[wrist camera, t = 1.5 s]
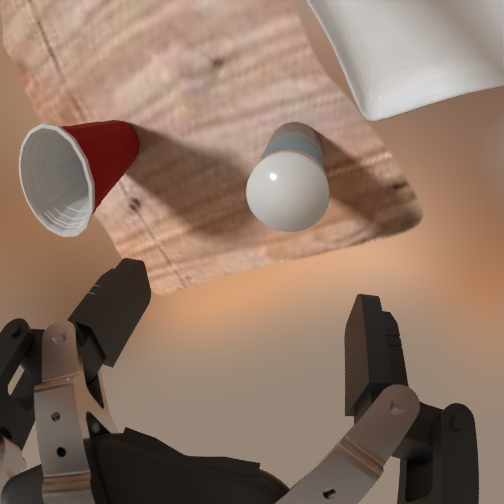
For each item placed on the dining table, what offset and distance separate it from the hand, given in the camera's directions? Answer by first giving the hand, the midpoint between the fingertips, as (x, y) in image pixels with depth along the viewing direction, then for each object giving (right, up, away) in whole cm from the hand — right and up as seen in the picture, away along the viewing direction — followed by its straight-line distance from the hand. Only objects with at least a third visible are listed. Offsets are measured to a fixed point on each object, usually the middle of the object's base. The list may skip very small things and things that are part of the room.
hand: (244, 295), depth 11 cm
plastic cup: (-15, +14, +19) cm, 28 cm away
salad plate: (+15, +25, +5) cm, 30 cm away
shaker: (+5, +12, +17) cm, 21 cm away
